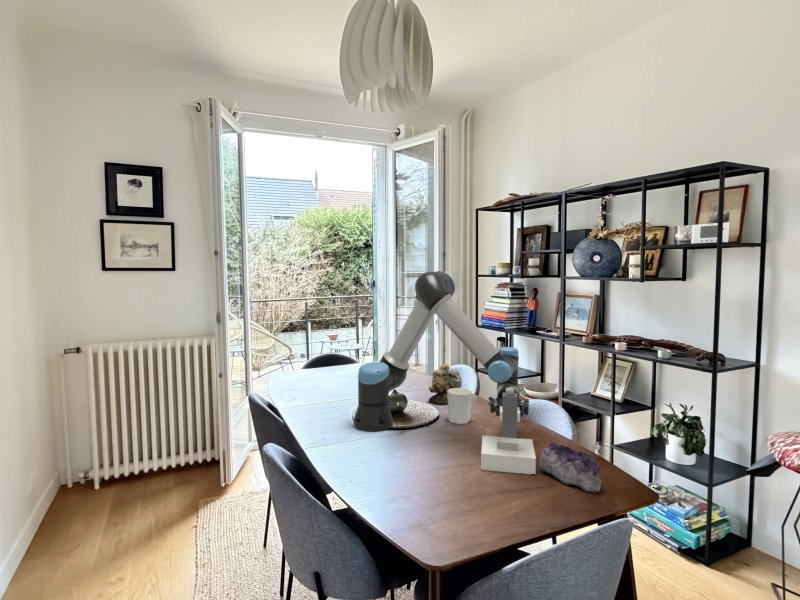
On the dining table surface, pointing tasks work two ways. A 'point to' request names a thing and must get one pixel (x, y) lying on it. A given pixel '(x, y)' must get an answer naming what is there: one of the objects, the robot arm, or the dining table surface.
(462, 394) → the candle holder
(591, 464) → the geode
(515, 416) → the plug
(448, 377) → the olive rock sculpture
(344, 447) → the dining table surface
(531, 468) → the socket block
